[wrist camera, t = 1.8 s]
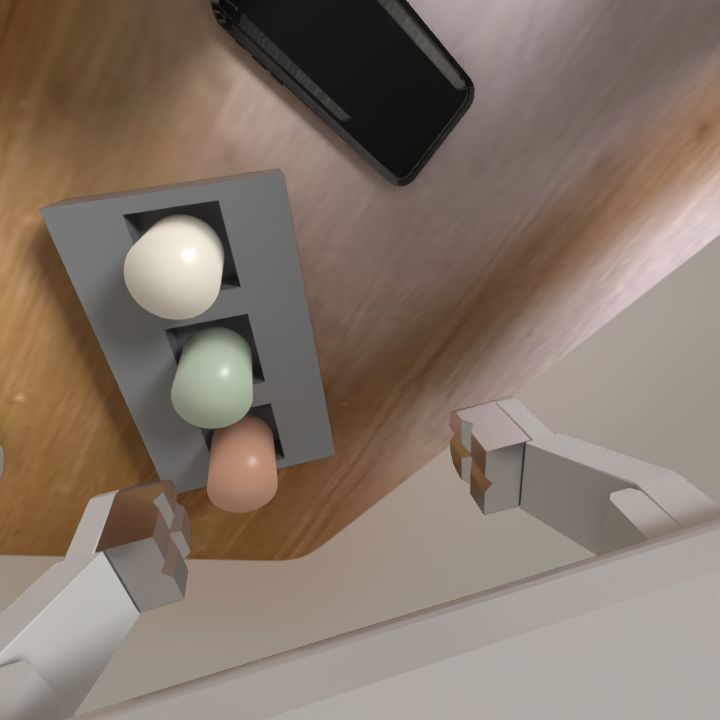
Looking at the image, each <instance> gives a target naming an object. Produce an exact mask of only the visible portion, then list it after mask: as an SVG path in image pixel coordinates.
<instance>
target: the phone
mask: <svg viewBox="0 0 720 720" xmlns="http://www.w3.org/2000/svg"><path fill="white" fill-rule="evenodd" d="M211 3H212V8H213V12H214V15H215V17H216V19H217V21H218V23H219V24H220V25H221V26H222V27H223V28H224V29H225V30H226V31H227V32H228V33H229V34H230V35H231V36H232V37H233V38H234V39H235V41H236V42H237V43H238V44H239V45H240V46H241V47H242V48H245V49H246V50H247V51H248V52H249V53H251V54H252V55H253V56H252V57H253V58H254V59H255V60H256V61H257V62H258V63H259V64H260V65H261V66H263V67H264V68H265V69H266V70H267V69H268V70H269V71H270V72H271V75H272V76H273V77H274V78H275V79H276V80H277V81H278V82H279V83H280V84H281V85H283V84H284V85H285V86H286V87H287V88H288V89H289V90H290V91H291V92H293V93H294V94H295V95H296V96H297V97H298V98H299V99H300V100H301V101H302V102H303V103H304V104H305V105H307V106H308V107H309V108H310V109H311V110H312V111H313V112H314V113H315V114H316V115H317V116H318V117H319V118H321V119H322V120H323V121H324V122H325V123H326V124H327V125H328V126H329V127H330V128H331V129H332V130H333V131H335V132H336V133H337V134H338V135H339V136H340V137H341V138H342V139H343V140H344V141H345V142H346V143H347V144H349V145H350V146H351V147H352V148H353V149H354V150H355V151H356V152H357V153H358V154H359V155H360V156H361V157H363V158H364V159H365V160H366V161H367V162H368V163H369V164H370V165H371V166H372V167H373V168H374V169H375V170H377V171H378V172H379V173H380V174H381V175H382V176H383V177H384V178H385V179H386V180H387V181H389V182H390V183H392V184H394V185H398V186H405V185H407V184H409V183H411V182H412V181H413V180H414V179H415V178H416V176H417V175H418V174H419V172H420V171H421V170H422V169H423V167H424V166H425V165H426V163H427V162H428V161H429V160H430V158H431V157H432V156H433V154H434V153H435V152H436V150H437V149H438V148H439V147H440V145H441V144H442V143H443V141H444V140H445V139H446V138H447V136H448V135H449V134H450V132H451V131H452V130H453V128H454V127H455V126H456V125H457V123H458V122H459V121H460V119H461V118H462V117H463V116H464V114H465V113H466V112H467V110H468V109H469V108H470V106H471V104H472V102H473V99H474V85H473V82H472V81H471V79H470V77H469V76H468V75H467V74H466V73H465V71H464V70H463V69H462V68H461V67H460V65H459V64H458V63H457V62H456V60H455V59H454V58H453V57H452V56H451V54H450V53H449V52H448V51H447V49H446V48H445V47H444V46H443V45H442V43H441V42H440V41H439V40H438V39H437V37H436V36H435V35H434V34H433V32H432V31H431V30H430V29H429V28H428V26H427V25H426V24H425V23H424V22H423V20H422V19H421V18H420V17H419V15H418V14H417V13H416V12H415V11H414V9H413V8H412V7H411V6H410V4H409V3H408V2H407V1H406V0H211Z"/></svg>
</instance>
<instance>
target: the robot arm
mask: <svg viewBox="0 0 720 720" xmlns="http://www.w3.org/2000/svg"><path fill="white" fill-rule="evenodd" d="M450 427H451V428H452V430H453V431H454V433H455V434H454V436H453V437H452V439H451V440H450V449H451V456H452V460H453V464H454V466H455V468H456V471H457V473H458V474H459V476H460V478H461V479H462V480H463V481H465V482H467V483H469V484H471V485H470V494H471V495H472V497H473V498H474V500H475V502H476V503H477V505H478V506H479V508H480V509H481V511H482V513H483V514H484V515H487V514H491V513H495V512H499V511H503V510H507V509H511V508H515V507H519V506H520V508H521V509H522V510H524V511H526V512H527V513H529V514H530V515H532V516H534V517H535V518H537V519H539V520H541V521H542V522H544V523H545V524H547V525H548V526H550V527H552V528H553V529H555V530H557V531H558V532H560V533H562V534H563V535H565V536H567V537H568V538H570V539H572V540H573V541H575V542H576V543H578V544H580V545H581V546H583V547H585V548H586V549H588V550H590V551H591V552H593V553H594V554H596V555H597V556H595V557H592V558H589V559H585V560H582V561H579V562H576V563H572V564H569V565H566V566H562V567H559V568H556V569H553V570H549V571H546V572H543V573H540V574H536V575H533V576H530V577H527V578H524V579H520V580H517V581H514V582H510V583H507V584H504V585H501V586H497V587H494V588H491V589H488V590H484V591H481V592H478V593H474V594H471V595H468V596H465V597H461V598H459V599H455V600H452V601H449V602H445V603H442V604H439V605H436V606H432V607H429V608H426V609H422V610H419V611H416V612H413V613H409V614H406V615H403V616H400V617H396V618H393V619H390V620H387V621H383V622H380V623H377V624H373V625H370V626H367V627H364V628H360V629H357V630H354V631H351V632H347V633H344V634H341V635H338V636H334V637H331V638H328V639H324V640H321V641H318V642H315V643H311V644H308V645H305V646H302V647H298V648H295V649H292V650H289V651H285V652H282V653H279V654H276V655H272V656H269V657H266V658H262V659H259V660H256V661H253V662H249V663H246V664H243V665H240V666H236V667H233V668H230V669H227V670H223V671H220V672H217V673H214V674H211V675H207V676H204V677H201V678H197V679H194V680H191V681H187V682H184V683H181V684H178V685H174V686H171V687H168V688H165V689H162V690H158V691H155V692H152V693H148V694H145V695H142V696H139V697H135V698H132V699H129V700H126V701H122V702H119V703H116V704H113V705H109V706H106V707H103V708H99V709H96V710H93V711H90V712H87V713H84V714H80V715H77V716H75V715H74V714H75V712H76V711H77V709H78V708H79V706H80V705H81V703H82V702H83V700H84V699H85V697H86V696H87V694H88V693H89V691H90V690H91V688H92V687H93V685H94V684H95V682H96V681H97V679H98V678H99V676H100V675H101V673H102V672H103V670H104V669H105V667H106V666H107V664H108V663H109V661H110V660H111V658H112V657H113V655H114V654H115V652H116V651H117V649H118V648H119V646H120V645H121V643H122V642H123V640H124V639H125V637H126V636H127V634H128V633H129V631H130V630H131V628H132V627H133V625H134V624H135V622H136V621H137V619H138V618H139V616H140V614H139V613H141V612H144V611H147V610H150V609H154V608H157V607H160V606H164V605H167V604H170V603H173V602H177V601H180V600H183V599H184V595H185V589H186V581H187V574H188V569H187V567H186V564H185V562H184V559H185V558H186V556H187V555H188V554H189V553H190V550H191V541H192V538H191V526H190V522H189V518H188V514H187V512H186V510H185V507H183V506H181V505H179V504H177V503H176V502H177V496H178V491H177V489H176V487H175V485H174V483H173V481H172V480H170V479H166V480H161V481H157V482H152V483H148V484H143V485H138V486H134V487H129V488H125V489H120V490H117V491H112V492H108V493H103V494H99V495H95V496H94V497H92V498H91V499H90V500H89V502H88V504H87V506H86V509H85V511H84V513H83V516H82V518H81V521H80V523H79V525H78V528H77V530H76V532H75V535H74V537H73V539H72V542H71V544H70V546H69V549H68V551H67V553H66V556H65V558H64V561H62V562H58V563H55V564H54V565H53V566H52V567H50V568H49V569H48V570H47V571H46V572H45V573H44V574H43V575H42V576H41V577H40V578H39V579H37V580H36V581H35V582H34V583H33V584H32V585H31V586H30V587H29V588H28V589H27V590H25V591H24V592H23V593H22V594H21V595H20V596H19V597H18V598H17V599H16V600H15V601H14V602H13V603H11V604H10V605H9V606H8V607H7V608H6V609H5V610H4V611H3V612H2V613H1V614H0V720H720V506H718V505H717V504H716V503H715V502H713V501H712V500H711V499H710V498H708V497H707V496H706V495H704V494H703V493H702V492H701V491H699V490H698V489H697V488H696V487H694V486H693V485H692V484H690V483H689V482H688V481H686V480H685V479H684V478H683V477H681V476H680V475H679V474H678V473H676V472H673V471H670V470H667V469H664V468H661V467H658V466H655V465H652V464H649V463H646V462H643V461H640V460H638V459H635V458H631V457H629V456H626V455H623V454H620V453H617V452H613V451H611V450H608V449H605V448H602V447H599V446H596V445H593V444H590V443H587V442H584V441H581V440H578V439H576V438H572V437H570V436H567V435H564V434H561V433H560V434H556V435H554V434H553V433H552V432H551V431H550V430H549V429H548V428H547V427H546V426H545V425H544V424H543V423H541V422H540V421H539V420H538V419H537V418H536V417H535V416H534V415H533V414H532V413H531V412H530V411H529V410H528V409H527V408H526V407H525V406H524V405H523V404H522V403H521V402H520V401H519V400H517V399H516V398H515V397H513V396H508V397H505V398H501V399H497V400H493V401H491V402H488V403H484V404H480V405H476V406H472V407H468V408H464V409H460V410H455V411H451V414H450Z"/></svg>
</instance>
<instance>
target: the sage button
mask: <svg viewBox="0 0 720 720" xmlns="http://www.w3.org/2000/svg"><path fill="white" fill-rule="evenodd" d="M252 400H253V383H252V354H251V349H250V347H249V345H248V343H247V341H246V340H245V339H244V338H243V337H242V336H241V335H240V334H238V333H237V332H235V331H233V330H231V329H228V328H224V327H207V328H204V329H201V330H199V331H197V332H195V333H194V334H193V335H191V336H190V337H189V339H188V340H187V341H186V343H185V345H184V347H183V350H182V354H181V358H180V361H179V365H178V368H177V372H176V375H175V379H174V382H173V386H172V390H171V401H172V404H173V407H174V409H175V410H176V412H177V413H178V414H179V415H180V417H182V418H183V419H184V420H185V421H187V422H188V423H190V424H192V425H195V426H198V427H202V428H208V429H216V428H223V427H227V426H229V425H232V424H234V423H236V422H237V421H239V420H240V419H242V418H243V417H244V416H245V415H246V413H247V412H248V410H249V409H250V407H251V404H252Z"/></svg>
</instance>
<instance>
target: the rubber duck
mask: <svg viewBox="0 0 720 720" xmlns="http://www.w3.org/2000/svg"><path fill="white" fill-rule="evenodd" d="M3 471H4V452H3V448H2V447H1V445H0V478H1V476H2V473H3Z"/></svg>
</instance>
